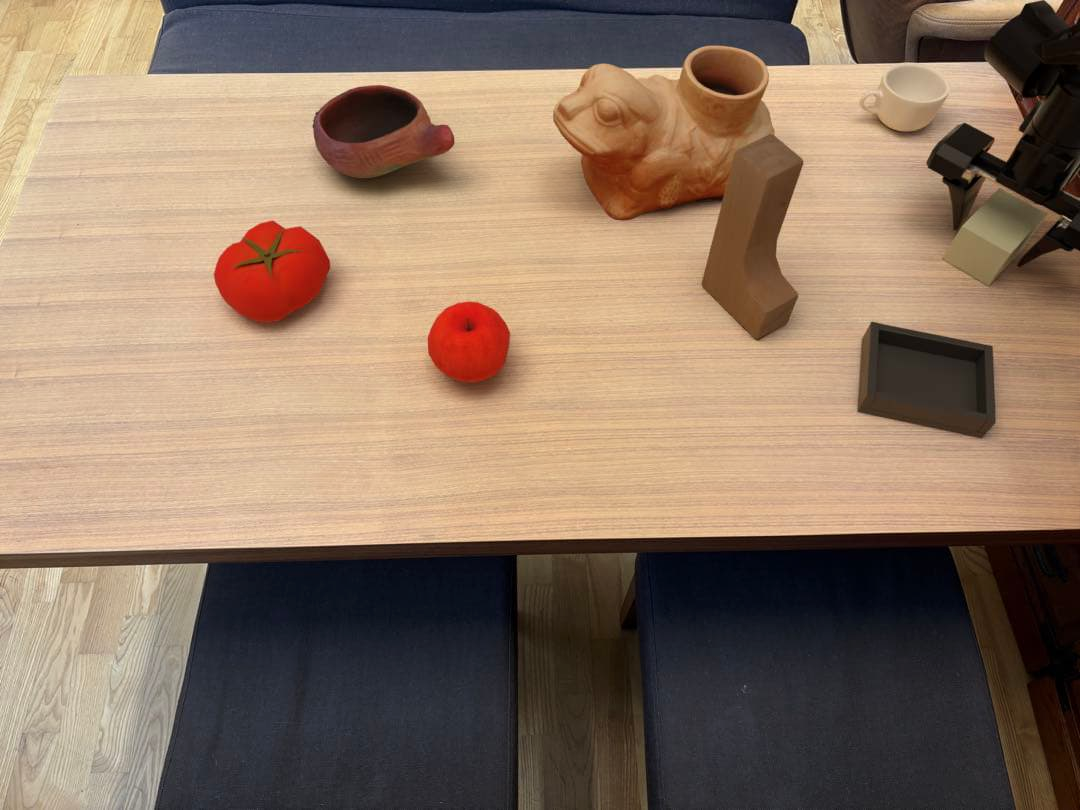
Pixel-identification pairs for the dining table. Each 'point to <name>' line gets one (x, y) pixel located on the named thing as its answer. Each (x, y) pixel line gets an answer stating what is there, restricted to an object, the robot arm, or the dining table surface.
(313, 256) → the tomato
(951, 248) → the olive green block
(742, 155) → the wooden block
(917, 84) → the teacup
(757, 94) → the ceramic vessel
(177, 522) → the dining table surface
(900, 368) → the mount
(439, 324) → the apple
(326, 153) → the bowl
